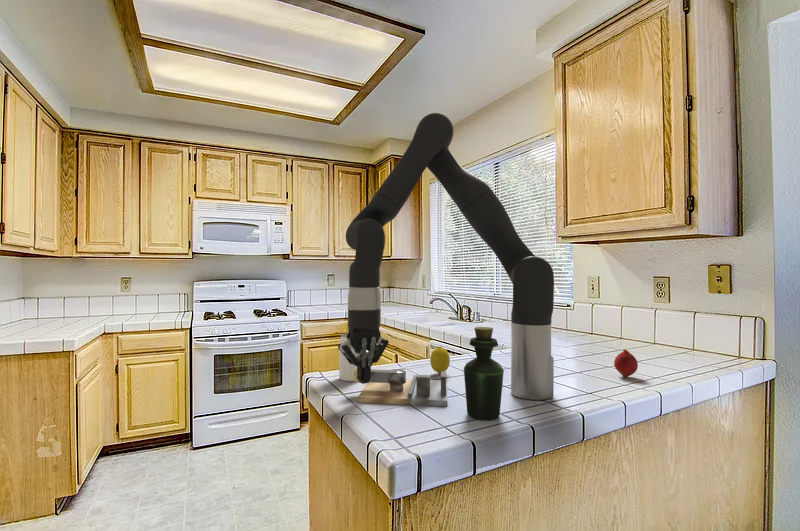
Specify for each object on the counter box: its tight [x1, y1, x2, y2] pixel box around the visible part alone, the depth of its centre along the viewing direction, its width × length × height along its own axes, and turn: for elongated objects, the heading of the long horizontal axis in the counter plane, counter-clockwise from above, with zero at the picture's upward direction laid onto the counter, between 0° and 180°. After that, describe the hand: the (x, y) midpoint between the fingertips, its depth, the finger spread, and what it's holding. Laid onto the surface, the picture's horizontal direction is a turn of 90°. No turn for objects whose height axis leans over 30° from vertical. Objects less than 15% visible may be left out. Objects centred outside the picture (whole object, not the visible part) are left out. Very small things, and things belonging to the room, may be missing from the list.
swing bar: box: [354, 368, 407, 385], centre depth 98 cm, size 12×4×3 cm, turn 84°
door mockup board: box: [357, 370, 448, 407], centre depth 100 cm, size 20×16×6 cm
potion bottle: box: [463, 326, 505, 422], centre depth 85 cm, size 8×8×18 cm
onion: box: [613, 348, 639, 378], centre depth 116 cm, size 6×6×8 cm
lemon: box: [429, 345, 451, 375], centre depth 118 cm, size 6×6×8 cm
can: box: [338, 333, 357, 383], centre depth 112 cm, size 6×6×12 cm
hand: (363, 382), depth 94 cm, fingers closed
